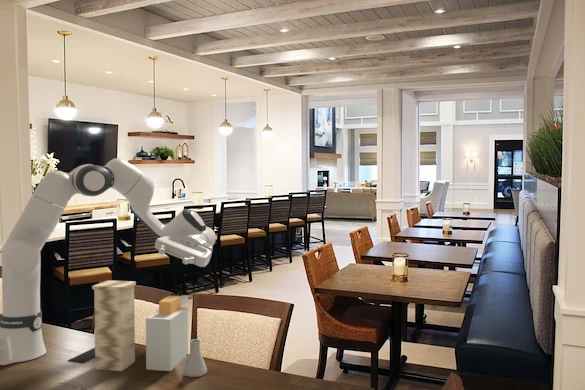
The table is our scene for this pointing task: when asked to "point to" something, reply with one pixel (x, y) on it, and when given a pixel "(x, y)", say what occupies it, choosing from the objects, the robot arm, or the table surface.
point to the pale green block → (166, 339)
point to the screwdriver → (172, 304)
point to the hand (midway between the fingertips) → (172, 256)
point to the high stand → (114, 325)
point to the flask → (195, 361)
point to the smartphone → (84, 357)
